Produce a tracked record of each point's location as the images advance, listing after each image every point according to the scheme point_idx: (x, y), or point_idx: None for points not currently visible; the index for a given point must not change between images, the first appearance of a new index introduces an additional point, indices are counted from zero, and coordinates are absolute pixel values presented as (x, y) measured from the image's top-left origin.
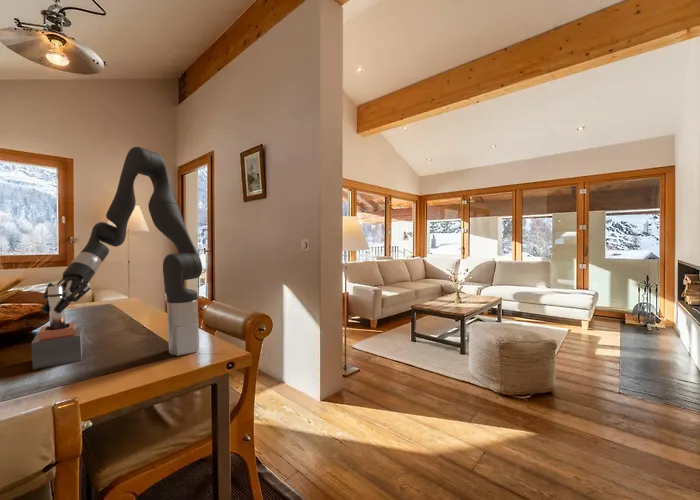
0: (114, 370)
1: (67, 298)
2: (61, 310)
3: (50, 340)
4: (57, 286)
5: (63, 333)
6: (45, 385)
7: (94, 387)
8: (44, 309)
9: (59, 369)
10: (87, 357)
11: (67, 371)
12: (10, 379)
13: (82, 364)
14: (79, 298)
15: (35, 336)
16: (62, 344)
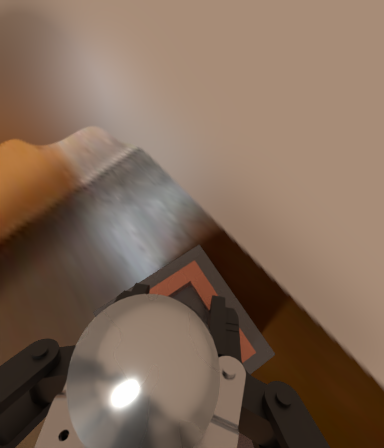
0: (14, 245)
1: None
2: None
3: (162, 269)
4: (123, 382)
5: None
6: (115, 189)
7: (23, 175)
8: (211, 302)
9: (141, 263)
10: None
11: (115, 250)
12: (206, 221)
13: (105, 290)
14: (15, 405)
15: (252, 321)
16: None
